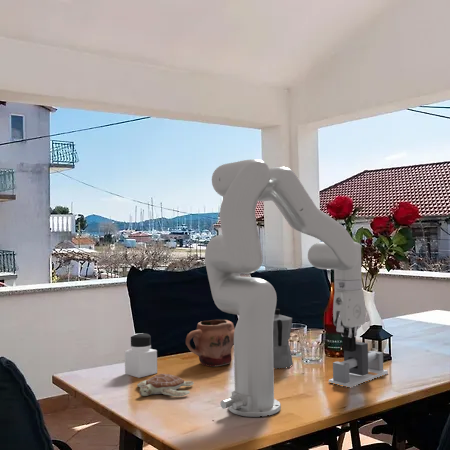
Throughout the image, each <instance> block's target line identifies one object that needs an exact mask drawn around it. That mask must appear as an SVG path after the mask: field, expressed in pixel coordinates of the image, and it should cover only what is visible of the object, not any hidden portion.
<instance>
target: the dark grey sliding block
mask: <svg viewBox="0 0 450 450" xmlns="http://www.w3.org/2000/svg"><path fill="white" fill-rule="evenodd" d="M368 346H369V344H368V343H367V342H362V341H356V351H353V352H350V351H344V350H343V361H346V360H349V359H352V358H358V366H356V367H353V368H350V369H349V373H352V374H357V375H362V376H363V375H366V374H368V351H369V347H368Z"/></svg>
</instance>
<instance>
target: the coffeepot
mask: <svg viewBox="0 0 450 450" xmlns="http://www.w3.org/2000/svg"><path fill="white" fill-rule="evenodd" d="M280 311H281V309H279V308H275V314H274V321H273V365H274V368H275V369H274V370H281V369H280V368H285V369H287V368H286V367H290V366H291V365H292V366H293V365H294V362H293V357H292V351H291V346H290V344H289V340H290V339H291V332H292V323H293V317H290V316H286V315H282V314H280ZM292 366H291V367H292ZM291 367H290V368H291ZM277 368H279V369H277Z"/></svg>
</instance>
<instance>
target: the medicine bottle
mask: <svg viewBox="0 0 450 450" xmlns="http://www.w3.org/2000/svg"><path fill="white" fill-rule="evenodd" d="M151 337H152V336H151V335H150V334H149V333H144V332H142V333H140V332H139V333H134V334H132V335H131V336H130V349H127V350H125V351H124V374H125V375H128V376H132V377H135V378H138V379H140V378H144V377H148V376H152V375H155V374H156V375H157V373H158V350H157V349H153V348H152V339H151Z"/></svg>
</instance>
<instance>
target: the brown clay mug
mask: <svg viewBox="0 0 450 450" xmlns="http://www.w3.org/2000/svg"><path fill="white" fill-rule="evenodd" d="M234 331H235V325H234V322H232V321H230V320H228V319H211V320H203V321H200V322H198V323H197V325H196V329H195V330H191V331H190V332H189V333H187V335H186V338H185V345H186V346H187V348H188V349H189V351H190V352H191V353H192V354H195V355H196V356H197V357H198V359H199V362H200V364H201V365H202V366H206V367H220V366H225V365H228V364H231V362H232V349H233V347H234ZM192 339H193V342H194V345H195V348H193V347H192V346H191V340H192Z"/></svg>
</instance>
